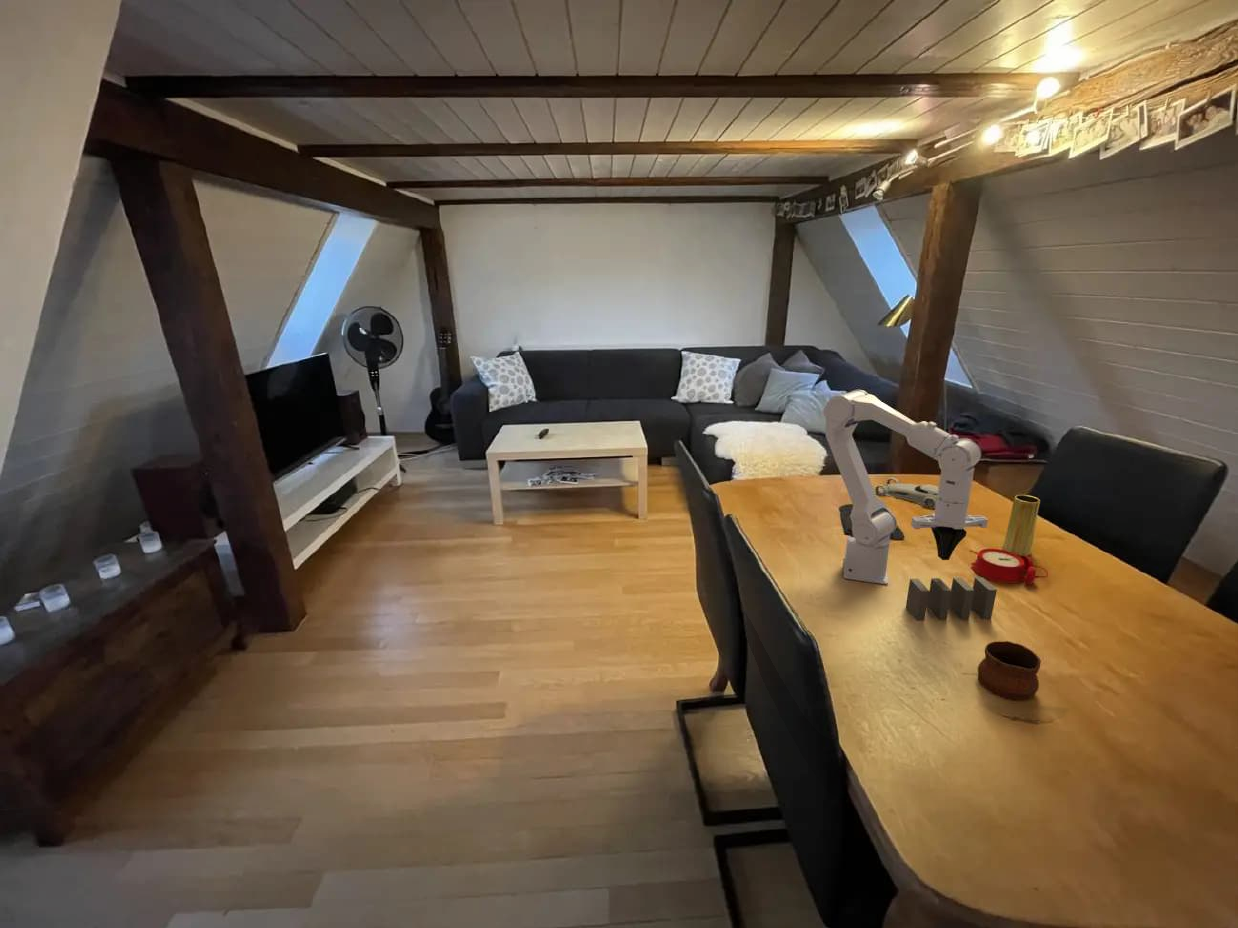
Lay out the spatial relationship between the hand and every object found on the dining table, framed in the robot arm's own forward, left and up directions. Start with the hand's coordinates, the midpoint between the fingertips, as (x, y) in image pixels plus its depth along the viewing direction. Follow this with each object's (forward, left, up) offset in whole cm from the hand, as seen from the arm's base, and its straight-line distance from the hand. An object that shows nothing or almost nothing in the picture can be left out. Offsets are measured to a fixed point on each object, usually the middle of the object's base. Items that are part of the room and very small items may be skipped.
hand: (943, 557), depth 122 cm
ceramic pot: (+8, -26, -11) cm, 29 cm away
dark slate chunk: (-13, +38, -11) cm, 42 cm away
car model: (+2, +62, -11) cm, 63 cm away
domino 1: (-1, -5, -10) cm, 12 cm away
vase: (+22, +31, -11) cm, 40 cm away
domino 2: (+4, -4, -11) cm, 12 cm away
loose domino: (-5, -7, -10) cm, 13 cm away
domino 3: (+8, -2, -10) cm, 13 cm away
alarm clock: (+17, +18, -11) cm, 27 cm away
